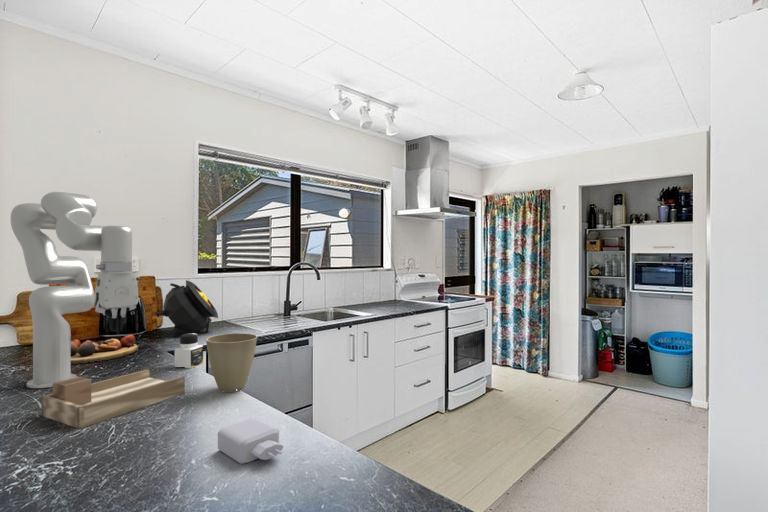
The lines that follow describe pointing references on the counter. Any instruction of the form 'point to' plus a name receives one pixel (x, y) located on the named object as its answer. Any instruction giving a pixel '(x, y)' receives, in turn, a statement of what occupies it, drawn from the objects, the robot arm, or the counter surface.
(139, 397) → the box
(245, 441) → the charger
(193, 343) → the medicine bottle
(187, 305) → the cauldron
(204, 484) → the counter surface
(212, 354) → the plant pot
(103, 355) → the wooden plate with food
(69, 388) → the walnut block
